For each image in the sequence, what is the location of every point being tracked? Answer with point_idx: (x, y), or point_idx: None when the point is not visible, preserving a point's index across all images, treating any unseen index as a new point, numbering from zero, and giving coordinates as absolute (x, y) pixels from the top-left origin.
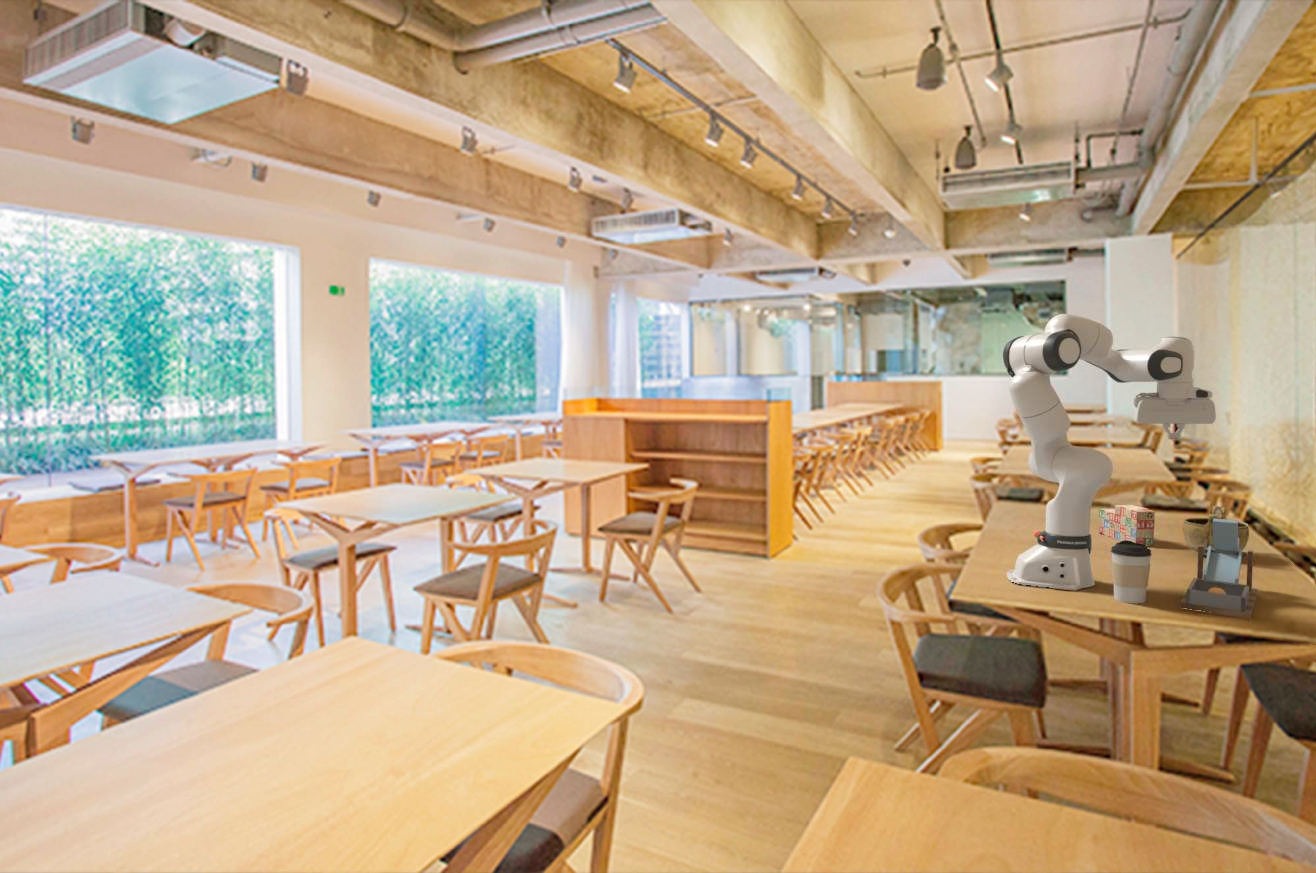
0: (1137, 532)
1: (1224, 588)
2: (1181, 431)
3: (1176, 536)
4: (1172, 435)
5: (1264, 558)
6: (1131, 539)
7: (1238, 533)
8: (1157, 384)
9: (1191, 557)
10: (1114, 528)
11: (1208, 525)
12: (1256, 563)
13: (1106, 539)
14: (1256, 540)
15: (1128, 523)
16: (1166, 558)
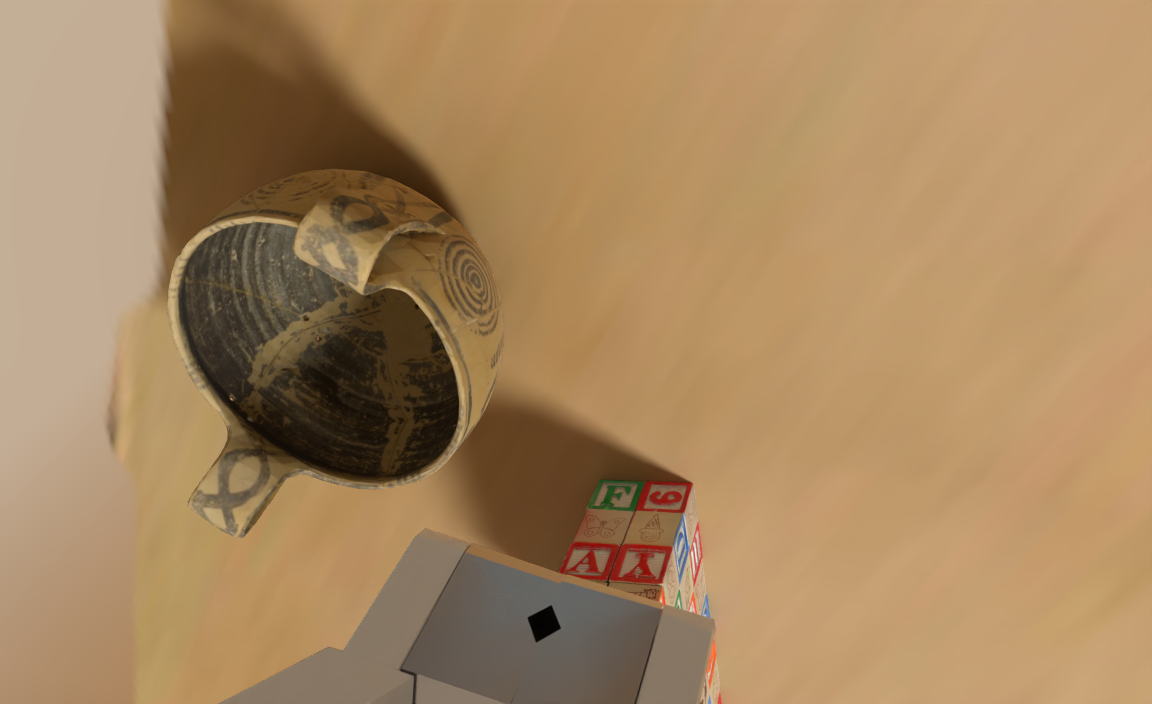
0: (671, 533)
1: None
2: (265, 683)
3: None
4: (585, 659)
5: (205, 205)
6: (692, 532)
7: (263, 195)
8: None
9: (532, 241)
10: None
11: (391, 270)
12: (274, 102)
13: (758, 620)
14: (138, 504)
15: None
16: (678, 226)
